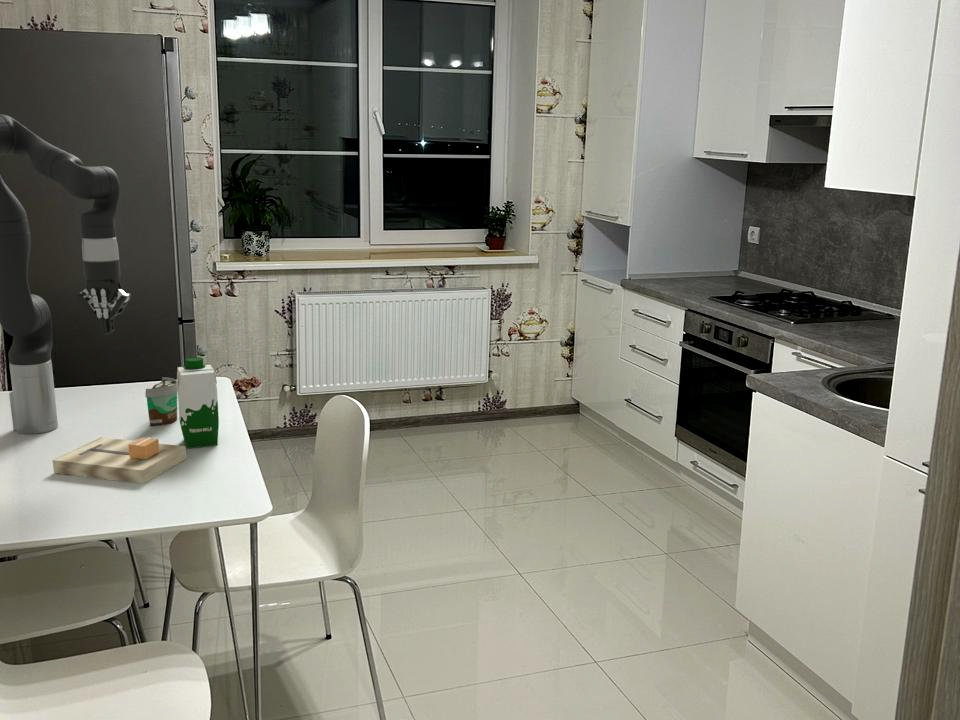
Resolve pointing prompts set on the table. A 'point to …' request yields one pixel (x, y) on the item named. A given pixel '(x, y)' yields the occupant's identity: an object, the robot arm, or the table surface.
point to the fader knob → (143, 448)
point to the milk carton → (198, 403)
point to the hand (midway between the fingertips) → (107, 333)
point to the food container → (162, 402)
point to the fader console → (117, 461)
